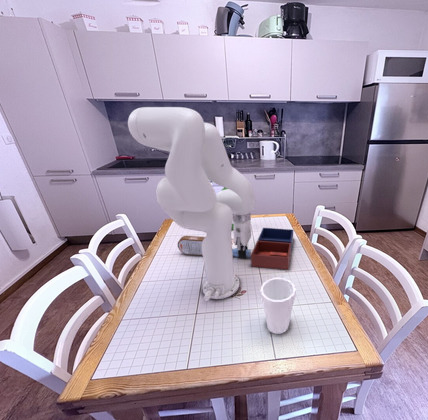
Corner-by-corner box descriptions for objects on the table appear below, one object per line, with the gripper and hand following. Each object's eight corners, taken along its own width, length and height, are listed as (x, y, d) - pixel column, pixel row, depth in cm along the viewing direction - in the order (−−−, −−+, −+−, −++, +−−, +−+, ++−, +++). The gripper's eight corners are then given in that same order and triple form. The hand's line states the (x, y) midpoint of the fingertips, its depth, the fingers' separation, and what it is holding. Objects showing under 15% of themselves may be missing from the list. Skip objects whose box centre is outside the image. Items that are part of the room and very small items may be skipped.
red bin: (288, 269, 92) (288, 258, 90) (251, 266, 94) (250, 254, 92) (290, 254, 102) (291, 243, 100) (257, 251, 104) (257, 240, 102)
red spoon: (287, 257, 99) (287, 251, 98) (286, 263, 95) (286, 257, 94) (261, 254, 101) (260, 249, 100) (258, 260, 97) (258, 255, 96)
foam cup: (276, 307, 74) (276, 273, 69) (300, 322, 69) (302, 287, 64) (255, 326, 68) (253, 290, 63) (279, 345, 62) (280, 307, 57)
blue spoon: (251, 253, 102) (251, 248, 101) (248, 259, 98) (248, 253, 97) (226, 251, 103) (226, 246, 102) (223, 257, 99) (222, 251, 98)
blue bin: (291, 252, 103) (291, 241, 101) (258, 249, 105) (257, 239, 103) (293, 239, 114) (293, 229, 112) (263, 237, 116) (263, 227, 113)
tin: (214, 253, 102) (212, 236, 99) (212, 257, 100) (209, 240, 96) (181, 251, 104) (178, 234, 101) (178, 255, 101) (174, 238, 98)
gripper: (245, 225, 86) (246, 267, 93) (255, 209, 100) (256, 247, 107) (225, 223, 87) (228, 265, 93) (238, 208, 101) (240, 245, 108)
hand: (243, 255), depth 100 cm, fingers closed on blue spoon, 2 cm apart
